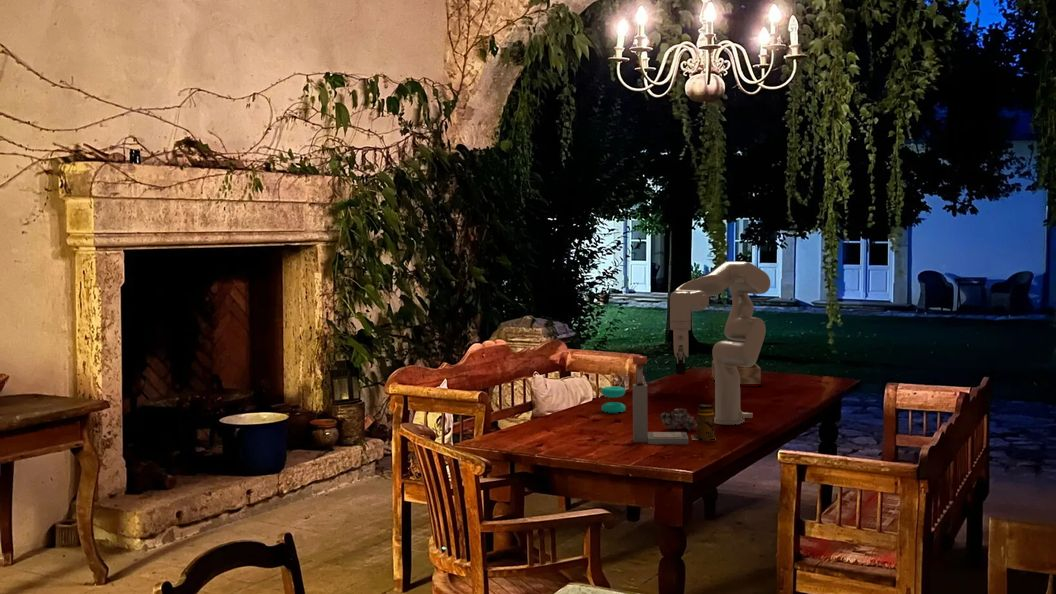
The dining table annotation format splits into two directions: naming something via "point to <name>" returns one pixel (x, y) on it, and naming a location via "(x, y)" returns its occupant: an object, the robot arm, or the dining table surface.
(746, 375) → the toy crate
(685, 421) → the mineral specimen
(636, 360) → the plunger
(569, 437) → the dining table surface
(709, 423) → the condiment
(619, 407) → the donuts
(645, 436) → the grey l-shaped piece
